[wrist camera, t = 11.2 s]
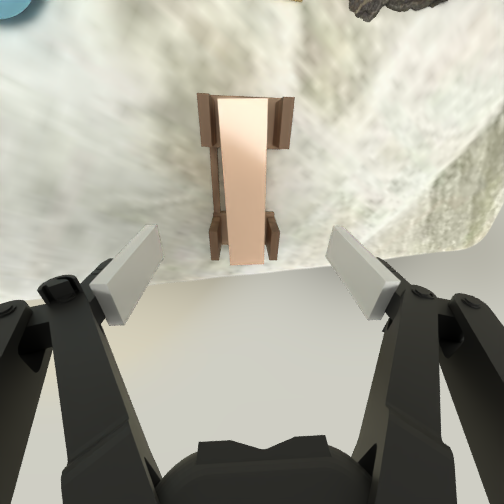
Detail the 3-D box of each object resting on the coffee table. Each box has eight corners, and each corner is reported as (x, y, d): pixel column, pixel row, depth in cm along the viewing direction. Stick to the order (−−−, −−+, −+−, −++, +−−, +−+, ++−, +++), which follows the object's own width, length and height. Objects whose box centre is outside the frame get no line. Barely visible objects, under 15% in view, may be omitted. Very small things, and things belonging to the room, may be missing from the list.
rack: (216, 241, 39) (211, 262, 33) (206, 96, 28) (196, 87, 21) (270, 241, 39) (276, 262, 33) (283, 99, 28) (295, 91, 22)
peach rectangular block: (232, 240, 38) (230, 265, 31) (223, 105, 27) (217, 98, 20) (259, 239, 38) (263, 264, 31) (260, 105, 27) (267, 98, 21)
